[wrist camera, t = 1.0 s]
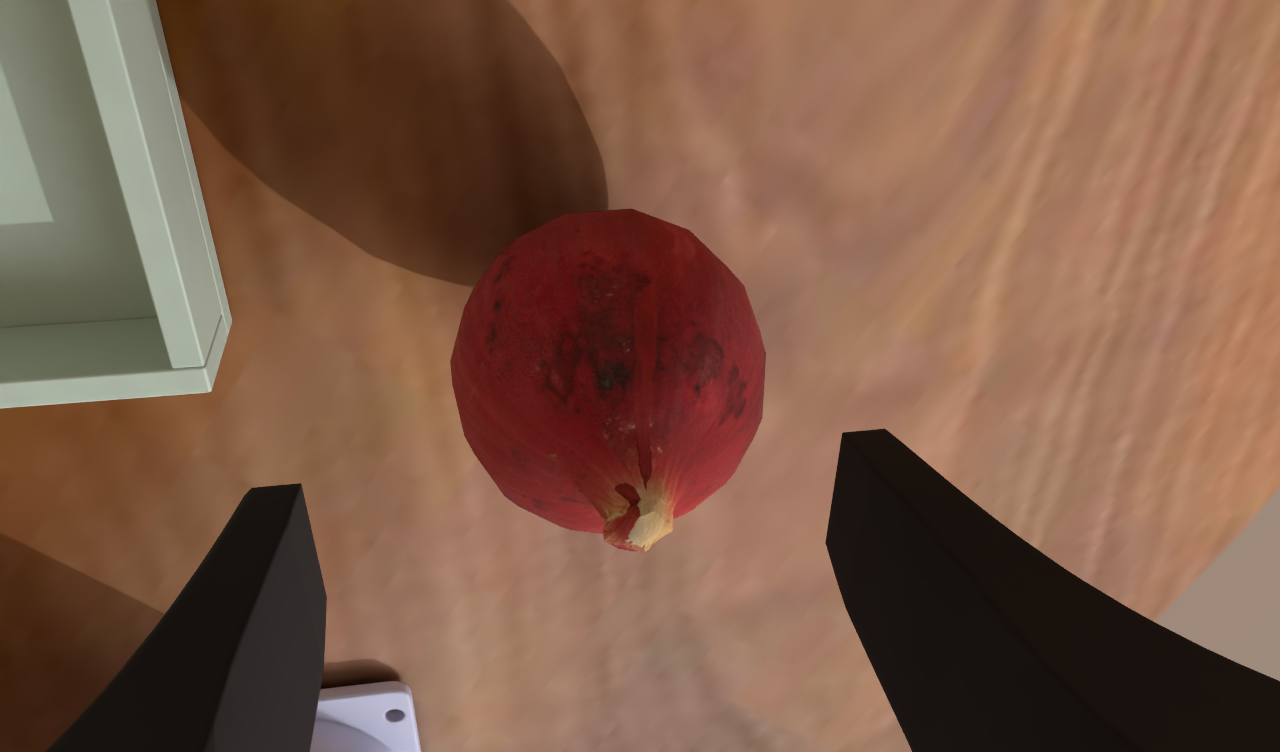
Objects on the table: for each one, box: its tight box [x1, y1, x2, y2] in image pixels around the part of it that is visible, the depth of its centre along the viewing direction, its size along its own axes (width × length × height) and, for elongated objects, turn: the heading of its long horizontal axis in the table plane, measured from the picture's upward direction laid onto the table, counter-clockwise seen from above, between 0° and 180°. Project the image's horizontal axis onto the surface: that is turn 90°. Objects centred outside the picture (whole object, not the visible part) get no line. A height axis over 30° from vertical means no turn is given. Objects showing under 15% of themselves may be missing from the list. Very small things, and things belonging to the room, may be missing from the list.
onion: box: [450, 209, 766, 552], centre depth 19 cm, size 6×6×8 cm
